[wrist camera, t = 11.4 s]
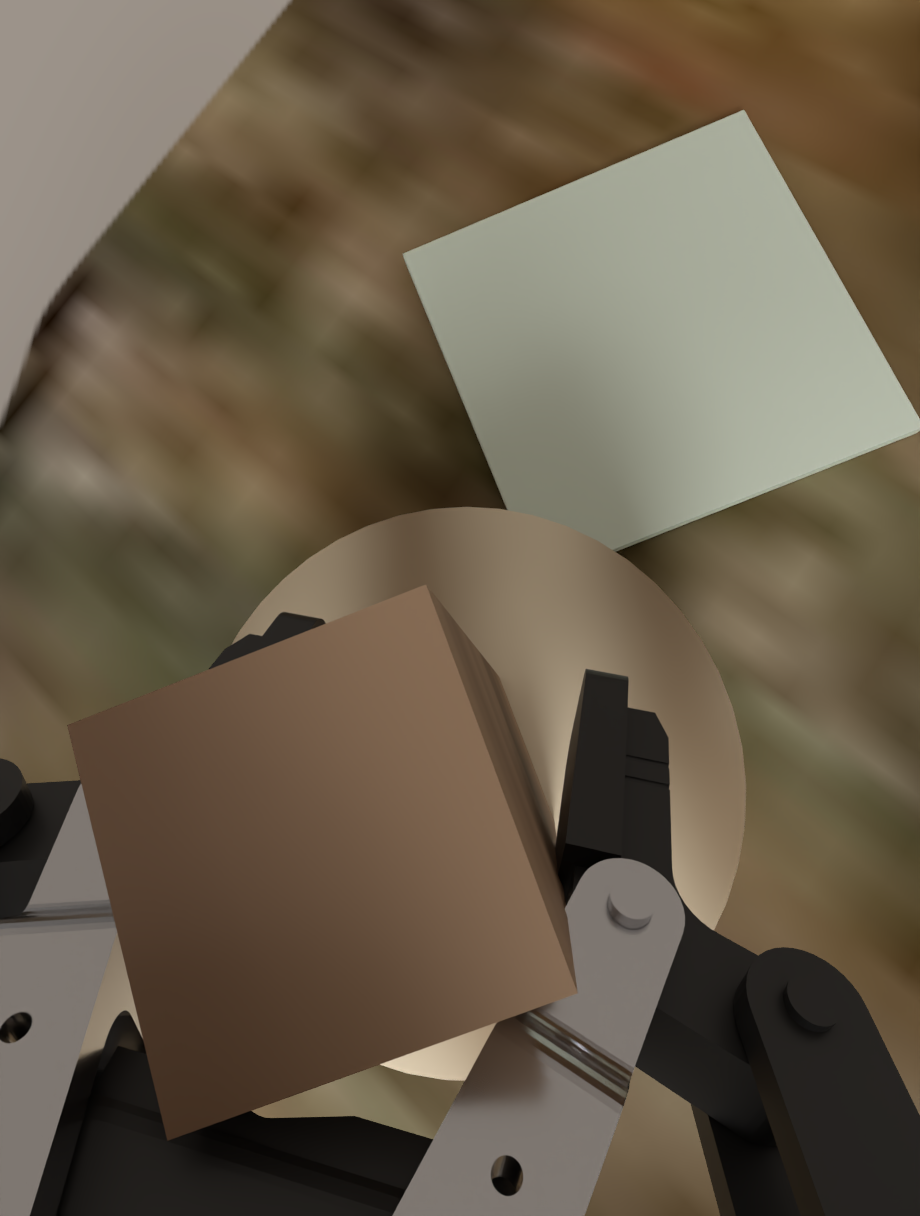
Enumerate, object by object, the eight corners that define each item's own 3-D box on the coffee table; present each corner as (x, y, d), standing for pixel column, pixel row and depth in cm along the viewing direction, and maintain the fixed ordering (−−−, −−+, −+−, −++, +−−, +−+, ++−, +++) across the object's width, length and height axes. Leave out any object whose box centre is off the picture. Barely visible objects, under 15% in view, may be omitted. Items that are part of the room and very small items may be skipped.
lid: (604, 448, 18) (708, -25, 7) (827, 945, 16) (1618, 1539, 4) (159, 625, 19) (-432, 463, 7) (301, 1133, 16) (-280, 2103, 5)
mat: (740, 121, 27) (743, 109, 26) (916, 433, 24) (924, 426, 23) (405, 262, 27) (402, 253, 27) (537, 582, 24) (536, 579, 24)
